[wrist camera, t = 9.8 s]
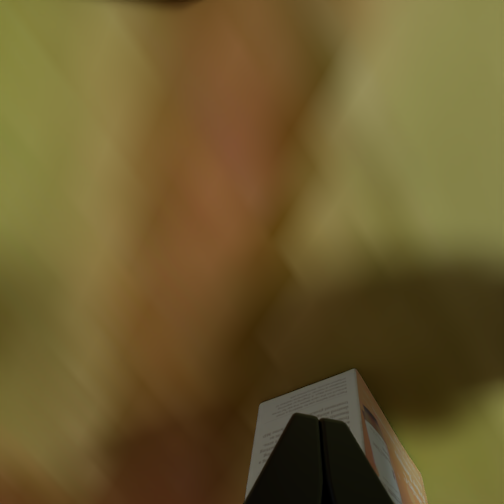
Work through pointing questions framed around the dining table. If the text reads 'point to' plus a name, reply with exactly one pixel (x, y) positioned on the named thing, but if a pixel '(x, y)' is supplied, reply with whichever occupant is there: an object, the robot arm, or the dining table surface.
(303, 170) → the dining table surface
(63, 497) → the dining table surface
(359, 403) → the small box
